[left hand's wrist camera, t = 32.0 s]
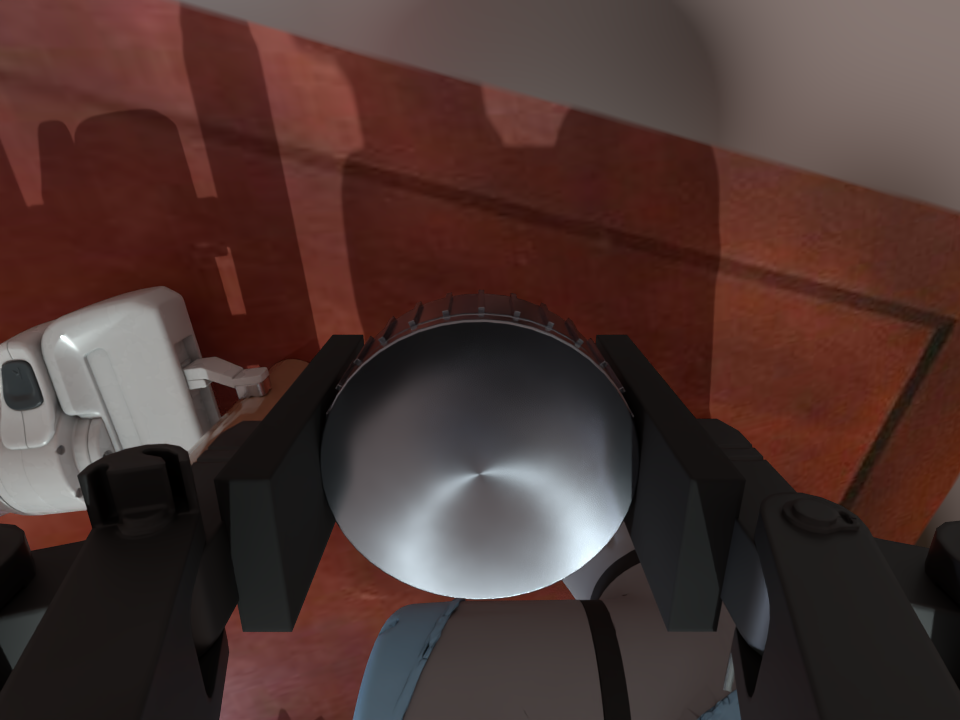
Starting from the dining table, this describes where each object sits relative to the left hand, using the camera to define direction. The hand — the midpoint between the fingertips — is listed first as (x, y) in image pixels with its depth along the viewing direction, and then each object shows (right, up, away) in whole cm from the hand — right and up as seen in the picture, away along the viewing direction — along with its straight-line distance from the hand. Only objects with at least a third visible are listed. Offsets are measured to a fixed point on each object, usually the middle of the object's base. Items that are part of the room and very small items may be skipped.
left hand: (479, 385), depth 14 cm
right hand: (-14, -4, +24) cm, 28 cm away
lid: (0, -1, -4) cm, 4 cm away
